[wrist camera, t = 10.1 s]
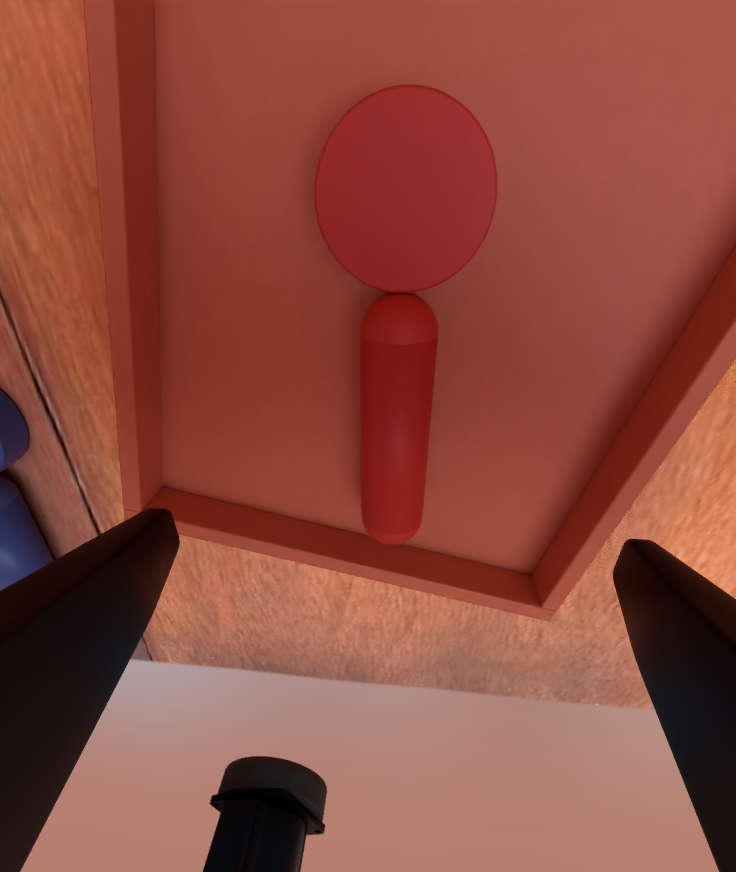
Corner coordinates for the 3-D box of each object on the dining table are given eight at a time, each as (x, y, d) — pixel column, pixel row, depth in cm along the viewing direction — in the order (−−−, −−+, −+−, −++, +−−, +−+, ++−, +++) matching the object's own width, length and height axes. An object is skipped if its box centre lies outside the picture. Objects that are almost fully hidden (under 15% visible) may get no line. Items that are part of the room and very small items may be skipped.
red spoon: (448, 520, 15) (453, 562, 14) (336, 512, 16) (327, 553, 14) (502, 92, 9) (521, 72, 8) (319, 95, 10) (298, 76, 8)
